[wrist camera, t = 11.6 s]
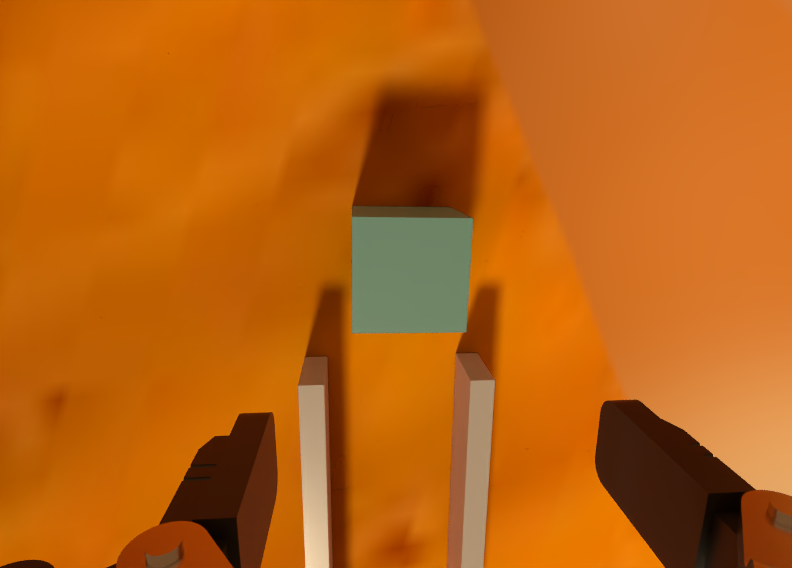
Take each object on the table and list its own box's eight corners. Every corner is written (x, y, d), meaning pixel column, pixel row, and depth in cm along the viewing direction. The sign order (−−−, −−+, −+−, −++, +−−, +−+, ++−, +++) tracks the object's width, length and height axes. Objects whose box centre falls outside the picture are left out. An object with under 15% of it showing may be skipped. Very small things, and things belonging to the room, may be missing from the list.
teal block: (352, 301, 26) (352, 333, 21) (352, 205, 25) (352, 217, 20) (445, 300, 27) (466, 332, 22) (450, 207, 25) (473, 218, 21)
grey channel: (314, 626, 31) (310, 684, 28) (304, 356, 27) (298, 385, 23) (463, 616, 32) (476, 670, 28) (477, 352, 27) (495, 380, 24)
